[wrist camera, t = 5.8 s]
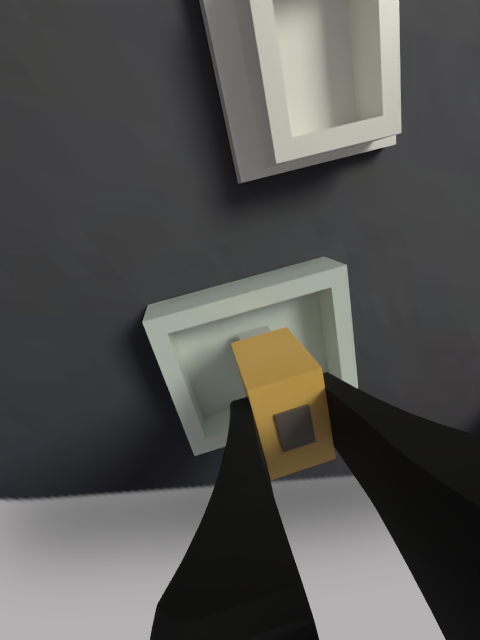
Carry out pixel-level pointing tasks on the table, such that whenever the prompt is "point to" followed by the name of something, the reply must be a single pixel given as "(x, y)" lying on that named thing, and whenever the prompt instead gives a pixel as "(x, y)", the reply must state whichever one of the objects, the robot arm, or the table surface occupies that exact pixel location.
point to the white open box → (304, 79)
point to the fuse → (285, 399)
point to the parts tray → (240, 316)
